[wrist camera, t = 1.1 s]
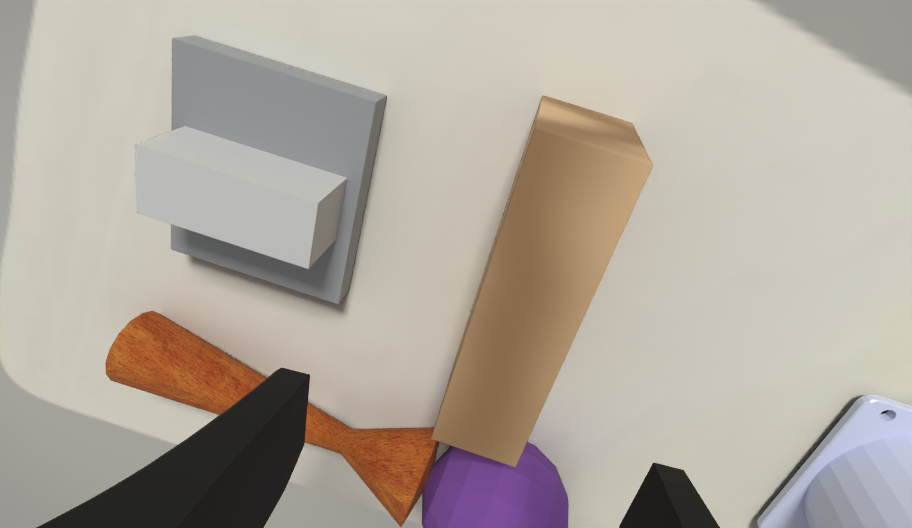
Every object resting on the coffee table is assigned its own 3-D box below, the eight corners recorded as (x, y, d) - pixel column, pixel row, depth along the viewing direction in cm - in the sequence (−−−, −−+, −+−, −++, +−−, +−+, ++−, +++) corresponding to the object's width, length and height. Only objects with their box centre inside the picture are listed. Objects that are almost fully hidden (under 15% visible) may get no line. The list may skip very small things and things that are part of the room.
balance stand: (386, 95, 18) (348, 118, 15) (349, 289, 22) (311, 340, 19) (194, 35, 19) (116, 45, 15) (189, 237, 23) (125, 278, 19)
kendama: (88, 309, 20) (596, 537, 19) (193, 268, 26) (589, 439, 24) (68, 437, 22) (529, 655, 20) (170, 372, 28) (537, 538, 26)
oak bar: (631, 121, 18) (653, 165, 13) (525, 375, 23) (515, 467, 18) (542, 94, 18) (535, 128, 13) (457, 353, 23) (431, 438, 19)
